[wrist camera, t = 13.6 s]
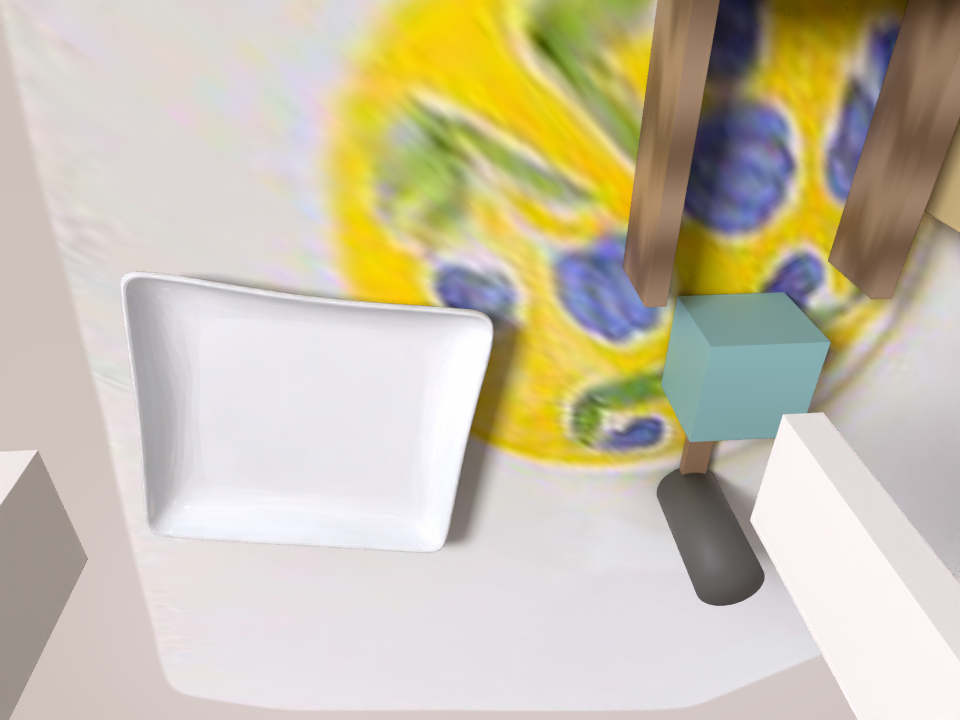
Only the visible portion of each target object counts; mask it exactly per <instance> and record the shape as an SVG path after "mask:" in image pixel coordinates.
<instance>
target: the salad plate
mask: <svg viewBox="0 0 960 720" xmlns="http://www.w3.org/2000/svg"><path fill="white" fill-rule="evenodd" d="M120 288H121V300H122V310H123V318H124V325H125V332H126V339H127V346H128V354H129V361H130V368H131V375H132V383H133V390H134V397H135V406H136V414H137V423H138V431H139V441H140V451H141V471H142V491H143V504H144V512H145V519H146V523H147V527H148V529H149V530H150V531H151V532H152V533H154V534H156V535H159V536H165V537H175V538H185V539H198V540H213V541H228V542H243V543H258V544H276V545H295V546H313V547H330V548H347V549H364V550H380V551H394V552H414V553H431V552H436V551H439V550H440V549H441V548H442V547H443V546H444V545H445V542H446V540H447V536H448V533H449V529H450V525H451V520H452V515H453V509H454V504H455V499H456V494H457V489H458V484H459V479H460V475H461V470H462V465H463V461H464V456H465V451H466V447H467V442H468V438H469V434H470V430H471V426H472V422H473V418H474V415H475V411H476V407H477V403H478V399H479V395H480V392H481V388H482V384H483V380H484V377H485V373H486V369H487V366H488V362H489V359H490V354H491V349H492V344H493V337H494V327H493V323H492V320H491V319H490V318H489V317H488V316H487V315H485V314H484V313H482V312H479V311H476V310H470V309H459V308H446V307H433V306H420V305H403V304H388V303H376V302H364V301H351V300H340V299H330V298H321V297H313V296H306V295H298V294H290V293H283V292H276V291H270V290H263V289H257V288H251V287H244V286H238V285H232V284H226V283H220V282H214V281H208V280H202V279H196V278H190V277H184V276H177V275H170V274H163V273H155V272H145V271H136V272H130V273H127V274H125V276H124V277H123V278H122V280H121V287H120Z"/></svg>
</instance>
